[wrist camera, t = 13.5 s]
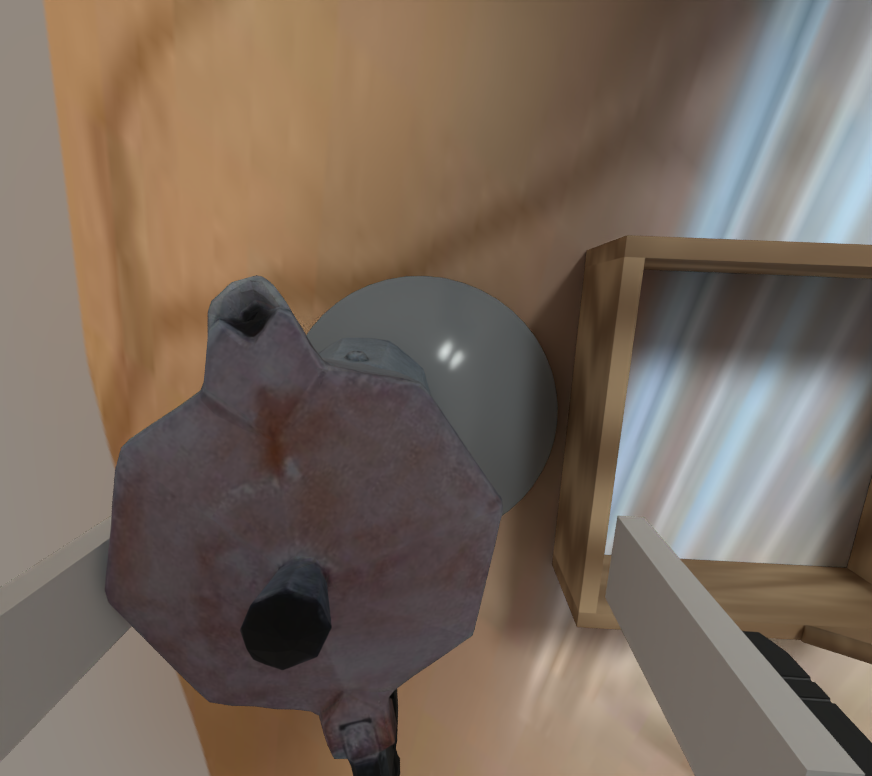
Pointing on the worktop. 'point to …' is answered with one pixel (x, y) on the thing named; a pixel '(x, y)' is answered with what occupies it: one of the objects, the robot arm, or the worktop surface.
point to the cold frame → (600, 436)
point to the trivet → (464, 368)
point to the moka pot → (302, 527)
